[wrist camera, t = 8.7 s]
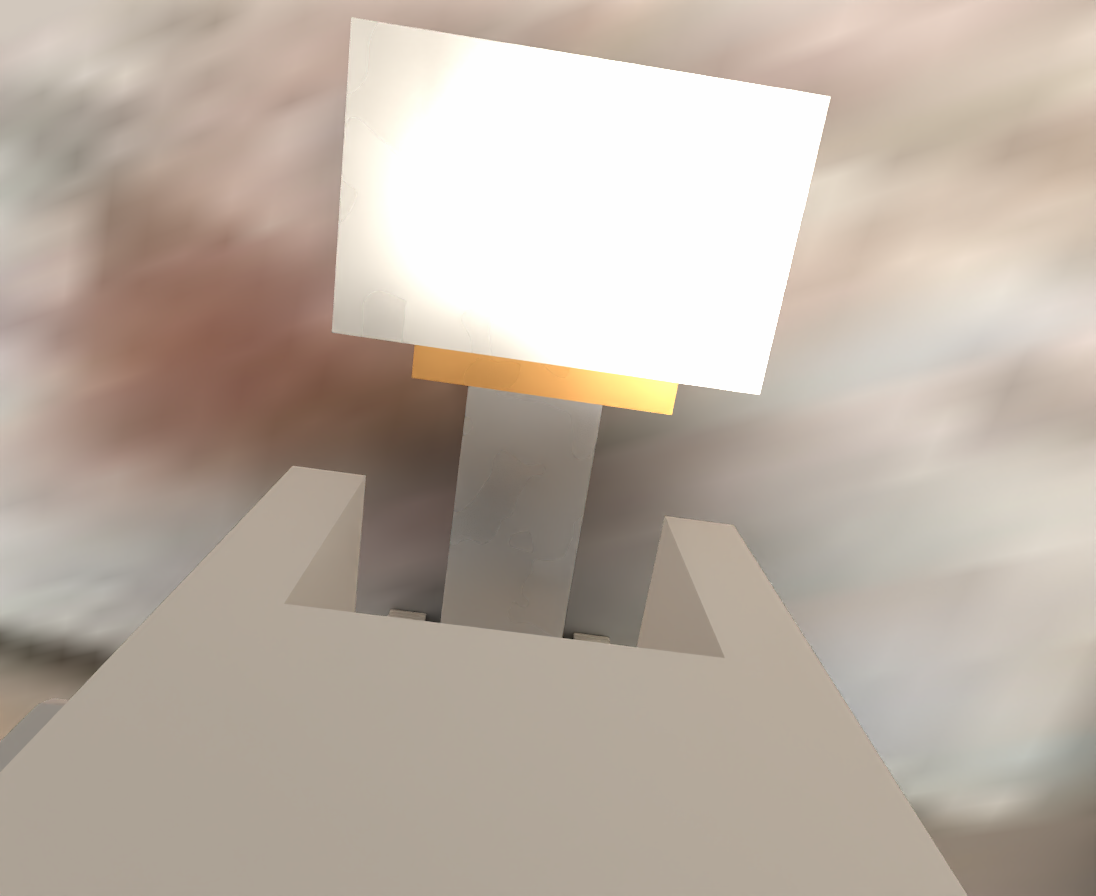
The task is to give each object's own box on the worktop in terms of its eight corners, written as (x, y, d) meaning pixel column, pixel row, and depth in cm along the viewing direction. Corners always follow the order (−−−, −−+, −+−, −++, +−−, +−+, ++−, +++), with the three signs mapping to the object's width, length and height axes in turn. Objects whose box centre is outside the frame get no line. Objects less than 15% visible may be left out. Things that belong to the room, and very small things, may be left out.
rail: (583, 769, 22) (602, 1055, 15) (377, 745, 22) (288, 1023, 14) (704, 150, 17) (830, 95, 10) (438, 107, 17) (351, 17, 9)
